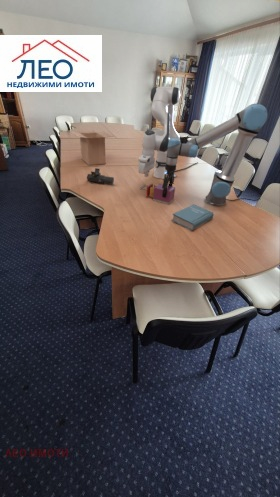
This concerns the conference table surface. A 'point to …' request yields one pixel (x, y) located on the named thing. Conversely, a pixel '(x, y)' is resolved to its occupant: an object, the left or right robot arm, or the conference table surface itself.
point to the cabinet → (159, 191)
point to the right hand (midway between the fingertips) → (166, 194)
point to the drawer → (149, 190)
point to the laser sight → (99, 177)
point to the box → (92, 146)
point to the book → (192, 217)
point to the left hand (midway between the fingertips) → (146, 176)
